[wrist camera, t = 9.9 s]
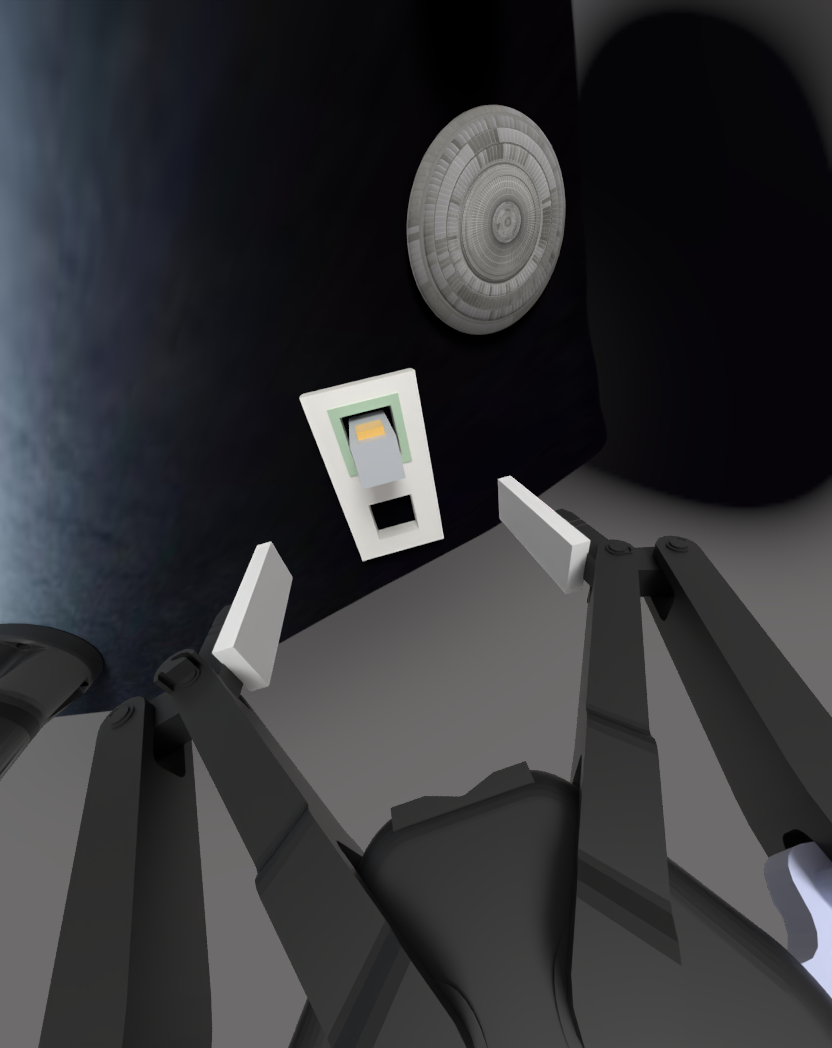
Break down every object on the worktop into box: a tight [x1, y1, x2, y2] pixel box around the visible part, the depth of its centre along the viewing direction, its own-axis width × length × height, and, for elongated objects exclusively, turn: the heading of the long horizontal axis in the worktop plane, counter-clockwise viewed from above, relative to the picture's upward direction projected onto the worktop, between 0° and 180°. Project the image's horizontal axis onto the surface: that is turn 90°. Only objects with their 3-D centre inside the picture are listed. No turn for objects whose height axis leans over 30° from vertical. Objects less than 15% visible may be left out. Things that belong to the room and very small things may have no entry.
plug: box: [349, 410, 406, 489], centre depth 30 cm, size 4×5×11 cm
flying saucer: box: [407, 105, 565, 335], centre depth 26 cm, size 15×15×6 cm
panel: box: [299, 368, 444, 561], centre depth 37 cm, size 12×22×3 cm, turn 11°
